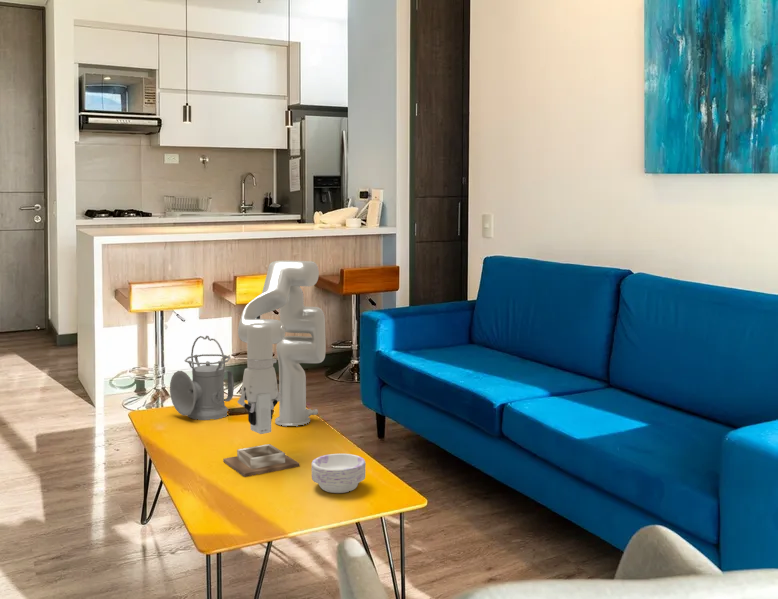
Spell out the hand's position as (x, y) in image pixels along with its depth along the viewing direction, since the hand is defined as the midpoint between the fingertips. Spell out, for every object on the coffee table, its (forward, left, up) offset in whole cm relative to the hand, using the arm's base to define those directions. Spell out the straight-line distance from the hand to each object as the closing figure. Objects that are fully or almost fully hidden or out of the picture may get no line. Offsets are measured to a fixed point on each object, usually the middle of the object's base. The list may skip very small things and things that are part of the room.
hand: (260, 422), depth 247 cm
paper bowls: (-10, +30, -13) cm, 34 cm away
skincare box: (0, 0, -3) cm, 3 cm away
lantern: (-7, -62, -13) cm, 64 cm away
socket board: (0, 0, -13) cm, 13 cm away
